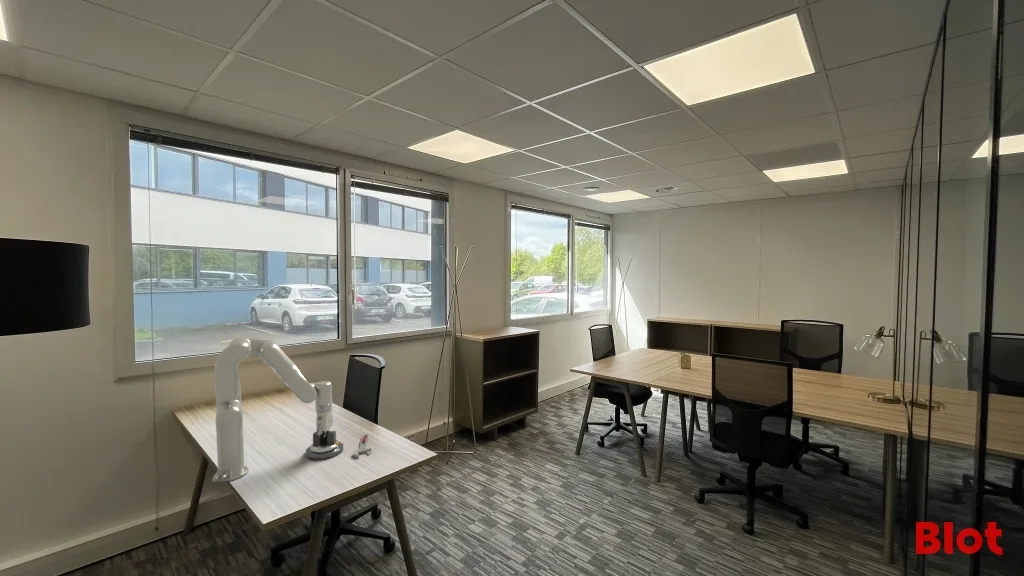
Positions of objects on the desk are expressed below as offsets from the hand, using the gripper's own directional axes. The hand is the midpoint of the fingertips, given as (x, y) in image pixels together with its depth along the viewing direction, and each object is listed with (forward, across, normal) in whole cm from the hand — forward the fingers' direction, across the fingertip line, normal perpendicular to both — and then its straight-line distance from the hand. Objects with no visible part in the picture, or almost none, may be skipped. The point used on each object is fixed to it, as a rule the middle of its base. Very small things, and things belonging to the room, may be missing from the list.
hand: (324, 442), depth 197 cm
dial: (+2, 0, -1) cm, 2 cm away
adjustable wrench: (+5, +4, -18) cm, 19 cm away
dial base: (+5, 0, 0) cm, 5 cm away
